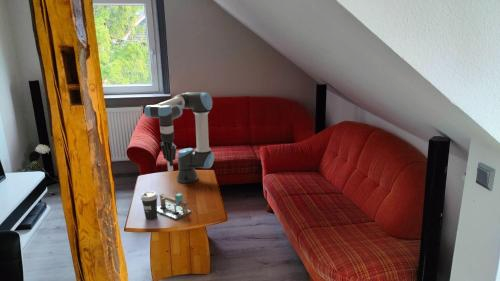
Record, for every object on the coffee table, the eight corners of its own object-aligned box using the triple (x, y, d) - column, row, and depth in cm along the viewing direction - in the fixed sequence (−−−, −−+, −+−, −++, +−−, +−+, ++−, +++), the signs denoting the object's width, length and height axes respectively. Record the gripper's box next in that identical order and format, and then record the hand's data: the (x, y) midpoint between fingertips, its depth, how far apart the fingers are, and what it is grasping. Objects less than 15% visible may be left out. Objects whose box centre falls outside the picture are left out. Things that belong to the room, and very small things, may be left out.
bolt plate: (167, 203, 235) (167, 201, 234) (191, 212, 222) (191, 210, 221) (152, 210, 226) (151, 208, 225) (176, 220, 213) (175, 218, 212)
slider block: (180, 208, 224) (179, 193, 221) (183, 210, 222) (182, 194, 219) (173, 212, 219) (171, 196, 216) (176, 213, 218) (175, 197, 215)
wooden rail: (163, 203, 232) (162, 193, 231) (187, 212, 219) (186, 202, 217) (157, 206, 228) (156, 196, 227) (181, 216, 215) (180, 205, 214)
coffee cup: (144, 214, 221) (142, 191, 217) (160, 213, 222) (158, 190, 217) (141, 222, 212) (138, 198, 207) (158, 220, 212) (155, 197, 208)
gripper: (154, 132, 212) (158, 170, 219) (169, 135, 205) (173, 175, 212) (164, 129, 218) (168, 166, 225) (179, 132, 210) (182, 171, 217)
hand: (170, 170), depth 218 cm, fingers closed
